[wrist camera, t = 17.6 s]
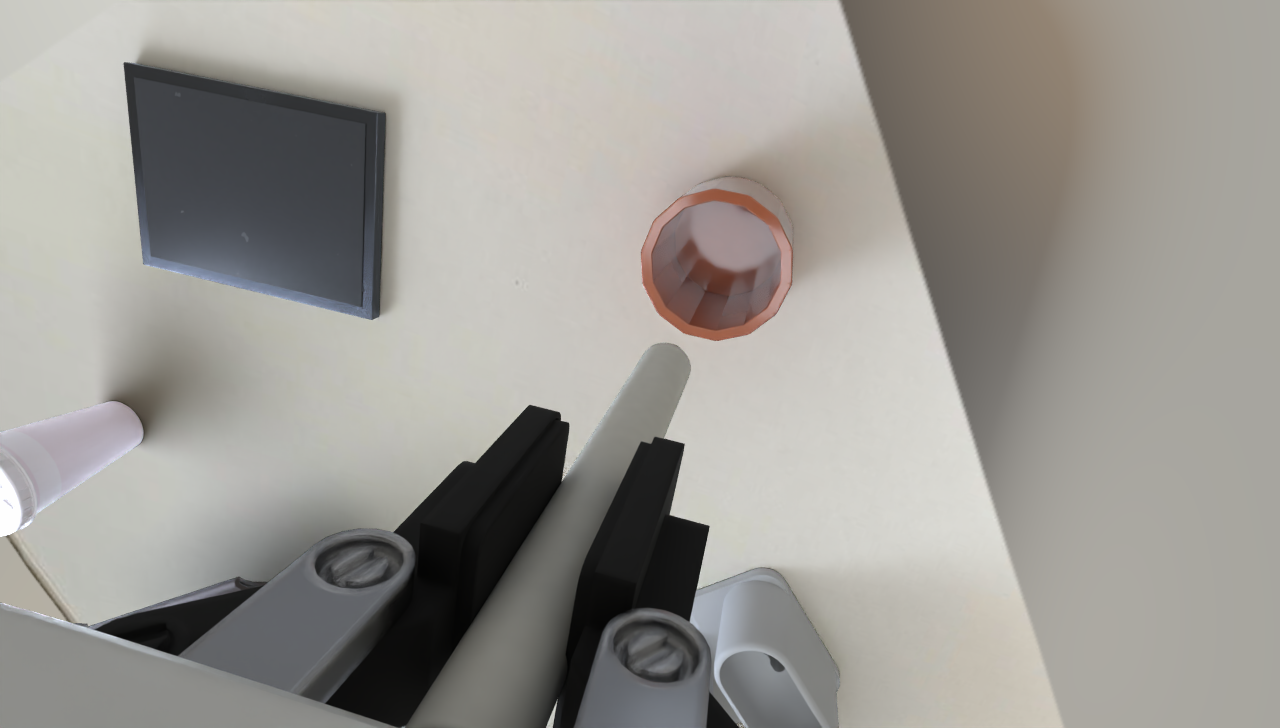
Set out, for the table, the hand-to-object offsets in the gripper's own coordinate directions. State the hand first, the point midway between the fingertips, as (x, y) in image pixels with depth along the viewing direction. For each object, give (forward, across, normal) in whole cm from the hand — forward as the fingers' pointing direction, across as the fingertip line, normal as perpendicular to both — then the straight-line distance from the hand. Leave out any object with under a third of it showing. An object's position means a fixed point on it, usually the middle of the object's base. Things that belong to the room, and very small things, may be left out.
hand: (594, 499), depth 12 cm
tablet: (+27, +28, +3) cm, 39 cm away
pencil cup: (+27, 0, 0) cm, 27 cm away
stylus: (+9, 0, 0) cm, 9 cm away
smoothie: (+27, +40, +22) cm, 53 cm away
